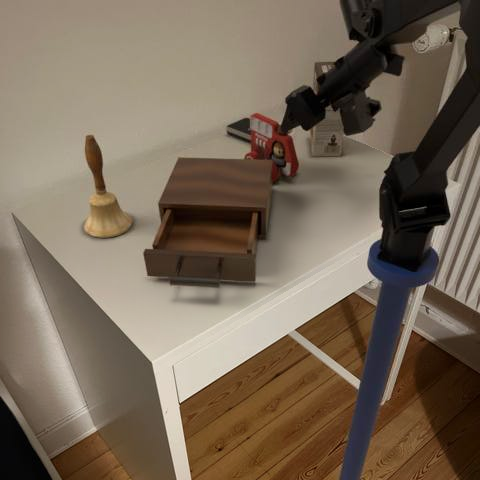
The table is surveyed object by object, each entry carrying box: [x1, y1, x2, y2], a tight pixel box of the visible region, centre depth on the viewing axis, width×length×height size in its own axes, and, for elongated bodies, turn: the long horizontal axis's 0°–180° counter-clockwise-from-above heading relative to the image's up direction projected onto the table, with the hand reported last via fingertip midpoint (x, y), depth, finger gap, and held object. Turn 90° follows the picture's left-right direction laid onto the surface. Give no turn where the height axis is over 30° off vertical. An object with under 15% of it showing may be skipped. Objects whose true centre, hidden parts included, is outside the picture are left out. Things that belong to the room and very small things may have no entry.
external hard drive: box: [225, 117, 251, 144], centre depth 113 cm, size 7×11×2 cm, turn 46°
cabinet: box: [157, 156, 274, 240], centre depth 89 cm, size 17×18×6 cm
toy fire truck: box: [243, 112, 300, 183], centre depth 98 cm, size 7×12×10 cm, turn 38°
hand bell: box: [83, 134, 133, 239], centre depth 83 cm, size 8×8×16 cm
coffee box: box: [309, 61, 345, 157], centre depth 104 cm, size 9×6×16 cm
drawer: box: [143, 208, 260, 289], centre depth 78 cm, size 20×16×4 cm
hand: (296, 121), depth 91 cm, fingers open, 9 cm apart
